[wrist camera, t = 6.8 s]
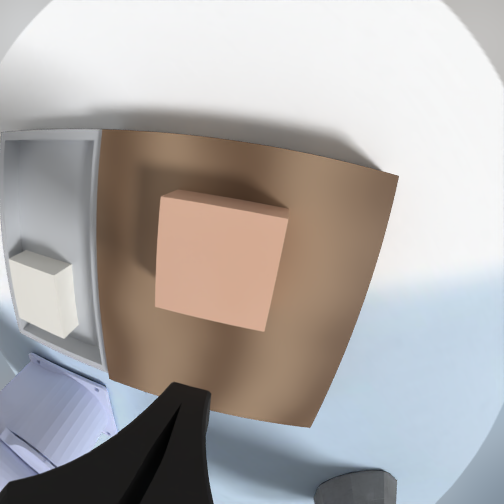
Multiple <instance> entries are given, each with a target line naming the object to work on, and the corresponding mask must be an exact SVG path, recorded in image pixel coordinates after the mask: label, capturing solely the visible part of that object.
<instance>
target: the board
mask: <svg viewBox="0 0 504 504" xmlns="http://www.w3.org/2000/svg"><path fill="white" fill-rule="evenodd" d="M398 178H399V176H397V175H394V174H390V173H387V172H383V171H379V170H376V169H372V168H368V167H364V166H360V165H356V164H352V163H348V162H344V161H340V160H336V159H331V158H327V157H322V156H318V155H313V154H308V153H303V152H298V151H293V150H288V149H283V148H277V147H272V146H266V145H260V144H254V143H247V142H241V141H234V140H227V139H219V138H211V137H203V136H194V135H184V134H174V133H162V132H149V131H132V130H108V129H102V137H101V146H100V157H99V169H98V185H97V213H96V247H97V275H98V291H99V303H100V314H101V324H102V332H103V340H104V348H105V355H106V361H107V367H108V373H109V379H111V380H114V381H116V382H119V383H122V384H124V385H127V386H130V387H133V388H136V389H139V390H142V391H145V392H148V393H151V394H154V395H157V396H160V395H161V394H162V393H163V391H164V390H165V389H166V388H167V387H168V386H169V385H170V384H171V383H172V382H177V383H181V384H185V385H188V386H192V387H196V388H200V389H204V390H208V391H209V392H210V393H211V403H210V410H211V411H216V412H220V413H224V414H229V415H234V416H239V417H244V418H249V419H254V420H260V421H265V422H272V423H278V424H285V425H292V426H300V427H308V428H310V427H311V425H312V423H313V421H314V419H315V417H316V415H317V413H318V411H319V409H320V407H321V405H322V403H323V401H324V398H325V396H326V394H327V392H328V390H329V387H330V385H331V383H332V381H333V378H334V376H335V374H336V372H337V369H338V367H339V365H340V362H341V360H342V357H343V355H344V352H345V350H346V347H347V345H348V342H349V340H350V337H351V335H352V332H353V330H354V327H355V324H356V322H357V319H358V316H359V313H360V311H361V308H362V305H363V302H364V299H365V296H366V293H367V290H368V287H369V284H370V281H371V278H372V275H373V272H374V269H375V266H376V262H377V259H378V256H379V252H380V249H381V246H382V242H383V239H384V235H385V231H386V228H387V224H388V220H389V216H390V212H391V208H392V204H393V200H394V196H395V192H396V187H397V183H398ZM178 189H179V190H186V191H192V192H198V193H204V194H211V195H216V196H222V197H228V198H234V199H240V200H245V201H251V202H256V203H262V204H267V205H272V206H277V207H282V208H288V209H289V219H288V224H287V229H286V234H285V239H284V244H283V249H282V253H281V258H280V263H279V268H278V272H277V277H276V282H275V286H274V291H273V296H272V300H271V305H270V309H269V314H268V318H267V323H266V327H265V331H264V332H263V331H258V330H253V329H248V328H243V327H238V326H233V325H229V324H224V323H220V322H215V321H211V320H206V319H202V318H198V317H194V316H190V315H185V314H181V313H177V312H173V311H170V310H166V309H162V308H158V307H155V282H156V256H157V238H158V224H159V211H160V199H161V196H163V195H166V194H168V193H170V192H173V191H175V190H178Z"/></svg>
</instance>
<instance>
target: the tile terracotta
mask: <svg viewBox="0 0 504 504" xmlns="http://www.w3.org/2000/svg"><path fill="white" fill-rule="evenodd" d="M288 219H289V209H288V208H282V207H277V206H272V205H267V204H262V203H256V202H251V201H245V200H240V199H234V198H228V197H222V196H216V195H211V194H204V193H198V192H192V191H186V190H179V189H178V190H175V191H173V192H170V193H168V194H166V195H163V196H161V199H160V211H159V224H158V238H157V256H156V282H155V307H158V308H162V309H166V310H170V311H173V312H177V313H181V314H185V315H190V316H194V317H198V318H202V319H206V320H211V321H215V322H220V323H224V324H229V325H233V326H238V327H243V328H248V329H253V330H258V331H263V332H264V331H265V327H266V323H267V318H268V314H269V309H270V305H271V300H272V296H273V291H274V286H275V282H276V277H277V272H278V268H279V263H280V258H281V253H282V249H283V244H284V239H285V234H286V229H287V224H288Z"/></svg>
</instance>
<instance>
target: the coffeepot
mask: <svg viewBox="0 0 504 504" xmlns="http://www.w3.org/2000/svg"><path fill="white" fill-rule="evenodd" d="M396 491H397V480H396V479H395V478H394V477H393V476H392V475H391V474H390V473H388V472H384V471H377V470H369V471H359V472H353V473H349V474H345V475H341V476H338V477H335V478H333V479H330V480H328V481H326V482H324V483H323V484H321V485H320V486H319V487H318V489H317V491H316V494H315V496H314V502H315V504H396Z"/></svg>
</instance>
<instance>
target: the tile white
mask: <svg viewBox="0 0 504 504" xmlns="http://www.w3.org/2000/svg"><path fill="white" fill-rule="evenodd" d="M9 265H10V272H11V278H12V284H13V289H14V294H15V299H16V304H17V309H18V313H19V317H20V318H21V319H23V320H25V321H27V322H29V323H31V324H33V325H35V326H37V327H39V328H41V329H43V330H46V331H48V332H50V333H52V334H54V335H57V336H59V337H61V338H63V339H65V338H66V337H67V336H68V335H69V334H70V333H71V332H72V331H73V330H74V329H75V328H76V327H77V326H78V325H79V324H78V317H77V310H76V302H75V294H74V284H73V273H72V264H69V263H66V262H63V261H60V260H56V259H53V258H50V257H47V256H44V255H40V254H37V253H34V252H31V251H28V250H25V251H23V252H21V253H19V254H17V255H15V256H13V257H11V258H9Z"/></svg>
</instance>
